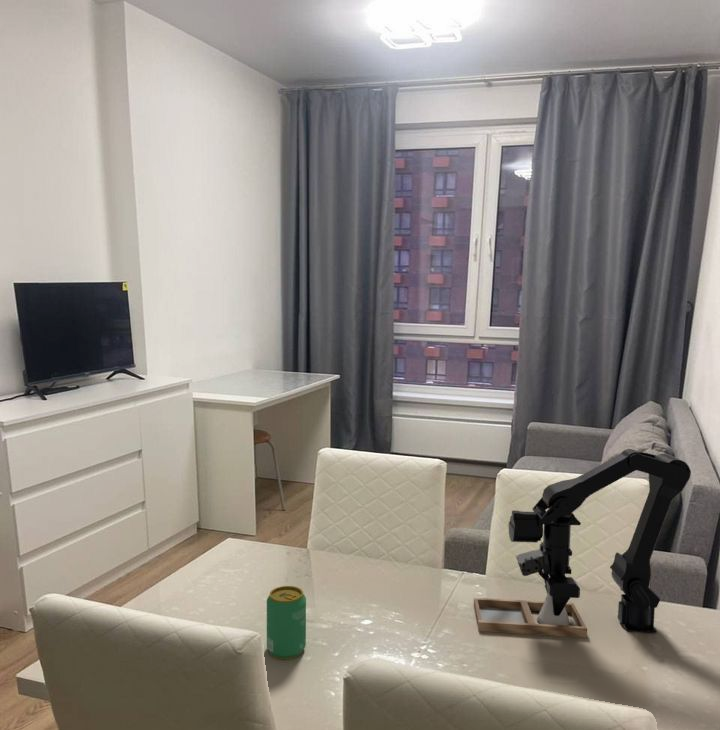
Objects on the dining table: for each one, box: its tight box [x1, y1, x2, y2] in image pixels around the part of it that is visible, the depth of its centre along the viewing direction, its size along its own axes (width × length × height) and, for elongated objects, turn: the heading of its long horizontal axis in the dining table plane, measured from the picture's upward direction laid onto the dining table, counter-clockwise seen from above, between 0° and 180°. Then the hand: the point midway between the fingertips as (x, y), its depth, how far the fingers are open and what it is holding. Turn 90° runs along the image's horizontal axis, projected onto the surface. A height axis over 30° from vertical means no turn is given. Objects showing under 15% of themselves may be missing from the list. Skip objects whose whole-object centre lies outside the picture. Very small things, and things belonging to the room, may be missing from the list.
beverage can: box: [266, 585, 307, 660], centre depth 122 cm, size 8×8×12 cm
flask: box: [536, 577, 571, 626], centre depth 135 cm, size 7×7×10 cm
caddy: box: [473, 597, 588, 638], centre depth 136 cm, size 23×12×2 cm, turn 84°
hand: (553, 609), depth 135 cm, fingers closed on flask, 5 cm apart
